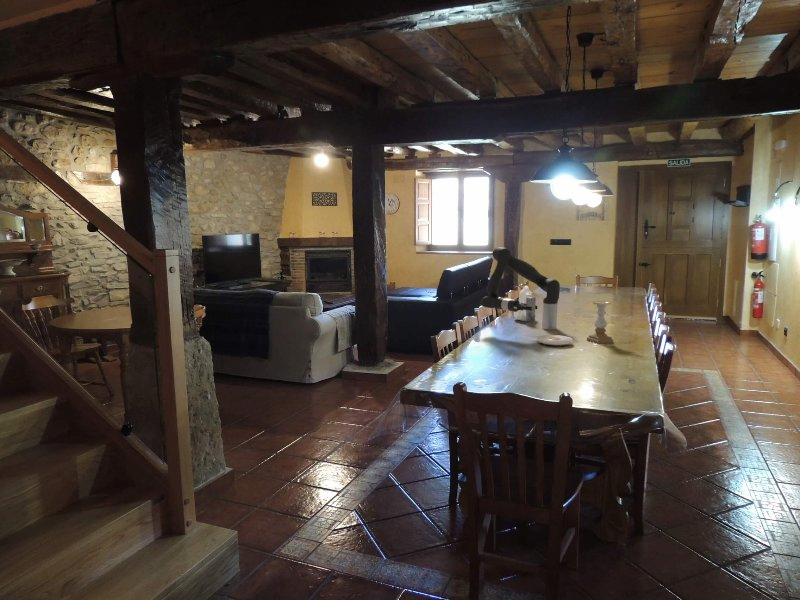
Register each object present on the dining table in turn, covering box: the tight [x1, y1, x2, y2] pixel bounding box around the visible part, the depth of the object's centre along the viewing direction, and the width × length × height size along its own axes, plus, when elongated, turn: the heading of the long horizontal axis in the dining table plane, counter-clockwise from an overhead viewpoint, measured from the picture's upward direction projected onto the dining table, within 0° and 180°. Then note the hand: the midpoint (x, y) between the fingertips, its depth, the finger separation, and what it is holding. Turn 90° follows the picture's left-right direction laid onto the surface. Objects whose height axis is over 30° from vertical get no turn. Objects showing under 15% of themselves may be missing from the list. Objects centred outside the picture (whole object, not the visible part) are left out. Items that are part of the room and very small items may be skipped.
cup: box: [525, 296, 537, 322], centre depth 338 cm, size 6×6×14 cm
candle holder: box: [586, 300, 614, 345], centre depth 333 cm, size 11×11×24 cm
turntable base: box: [543, 343, 568, 347], centre depth 330 cm, size 14×14×2 cm
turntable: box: [537, 334, 573, 346], centre depth 329 cm, size 20×20×2 cm
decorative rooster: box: [513, 285, 537, 322], centre depth 399 cm, size 25×16×25 cm, turn 164°
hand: (534, 308), depth 336 cm, fingers closed on cup, 5 cm apart
